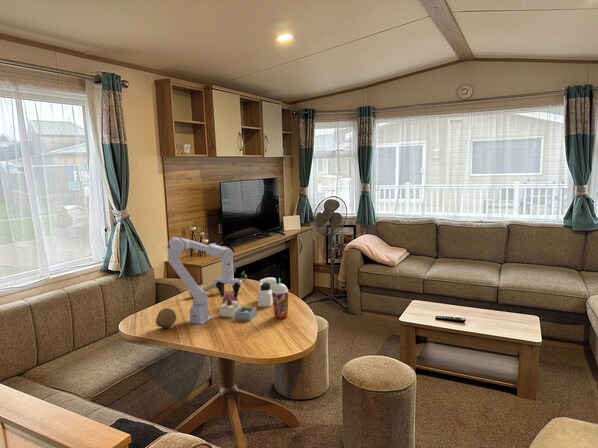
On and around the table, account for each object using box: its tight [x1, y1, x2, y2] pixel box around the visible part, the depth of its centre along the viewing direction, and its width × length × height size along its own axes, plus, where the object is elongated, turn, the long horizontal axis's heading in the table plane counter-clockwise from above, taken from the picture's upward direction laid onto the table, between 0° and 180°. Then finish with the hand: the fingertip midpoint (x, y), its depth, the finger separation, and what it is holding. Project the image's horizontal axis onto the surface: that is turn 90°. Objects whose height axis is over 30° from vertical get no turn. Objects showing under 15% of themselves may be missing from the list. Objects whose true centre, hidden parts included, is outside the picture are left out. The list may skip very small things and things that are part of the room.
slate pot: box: [234, 306, 258, 322], centre depth 205 cm, size 8×8×4 cm
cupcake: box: [222, 292, 239, 304], centre depth 219 cm, size 9×8×12 cm
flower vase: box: [188, 270, 248, 299], centre depth 245 cm, size 12×12×35 cm
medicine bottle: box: [256, 282, 273, 307], centre depth 223 cm, size 7×7×12 cm
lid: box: [219, 298, 240, 310], centre depth 210 cm, size 7×7×4 cm
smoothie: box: [272, 277, 289, 320], centre depth 203 cm, size 8×8×20 cm
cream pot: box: [218, 304, 242, 319], centre depth 210 cm, size 8×8×4 cm
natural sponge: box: [155, 307, 177, 329], centre depth 194 cm, size 9×9×10 cm
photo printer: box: [258, 277, 278, 290], centre depth 232 cm, size 10×4×12 cm, turn 117°
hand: (229, 296), depth 209 cm, fingers open, 7 cm apart
